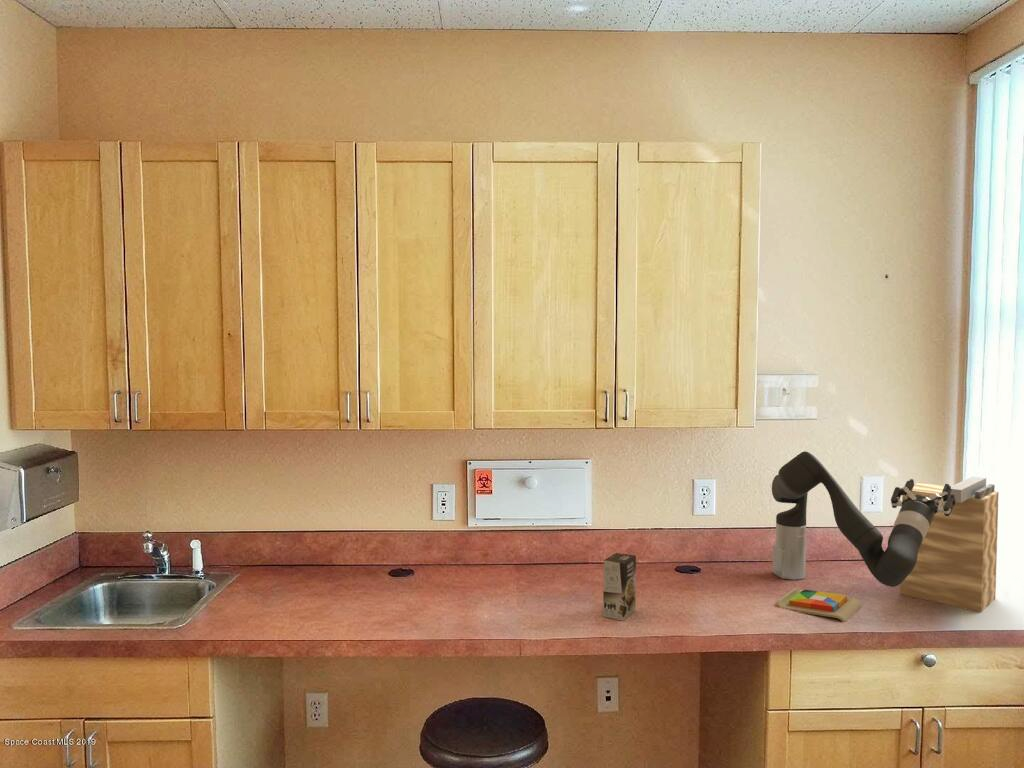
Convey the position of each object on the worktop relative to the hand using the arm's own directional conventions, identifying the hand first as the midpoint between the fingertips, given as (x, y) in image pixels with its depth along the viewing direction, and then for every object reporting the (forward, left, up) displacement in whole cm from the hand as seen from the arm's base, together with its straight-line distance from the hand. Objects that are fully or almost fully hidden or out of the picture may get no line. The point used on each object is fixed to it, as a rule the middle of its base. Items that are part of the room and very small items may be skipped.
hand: (929, 483), depth 192 cm
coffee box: (-82, +16, -38) cm, 91 cm away
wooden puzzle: (-23, +14, -38) cm, 47 cm away
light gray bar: (+19, +9, -5) cm, 22 cm away
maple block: (+20, +17, -38) cm, 46 cm away
